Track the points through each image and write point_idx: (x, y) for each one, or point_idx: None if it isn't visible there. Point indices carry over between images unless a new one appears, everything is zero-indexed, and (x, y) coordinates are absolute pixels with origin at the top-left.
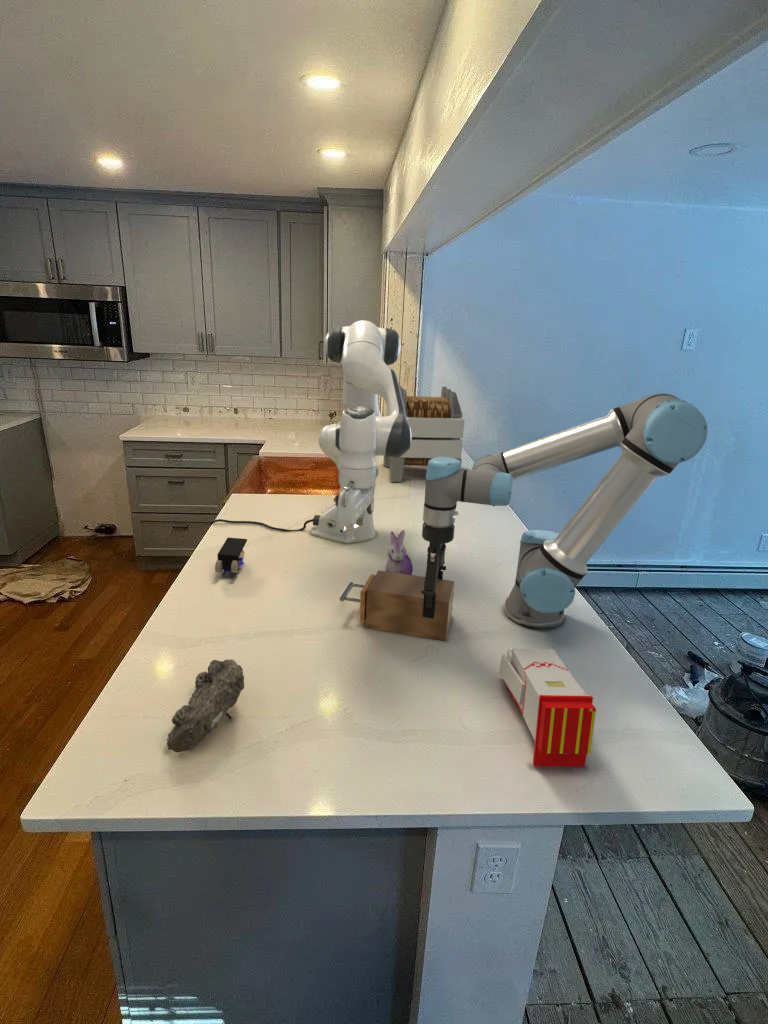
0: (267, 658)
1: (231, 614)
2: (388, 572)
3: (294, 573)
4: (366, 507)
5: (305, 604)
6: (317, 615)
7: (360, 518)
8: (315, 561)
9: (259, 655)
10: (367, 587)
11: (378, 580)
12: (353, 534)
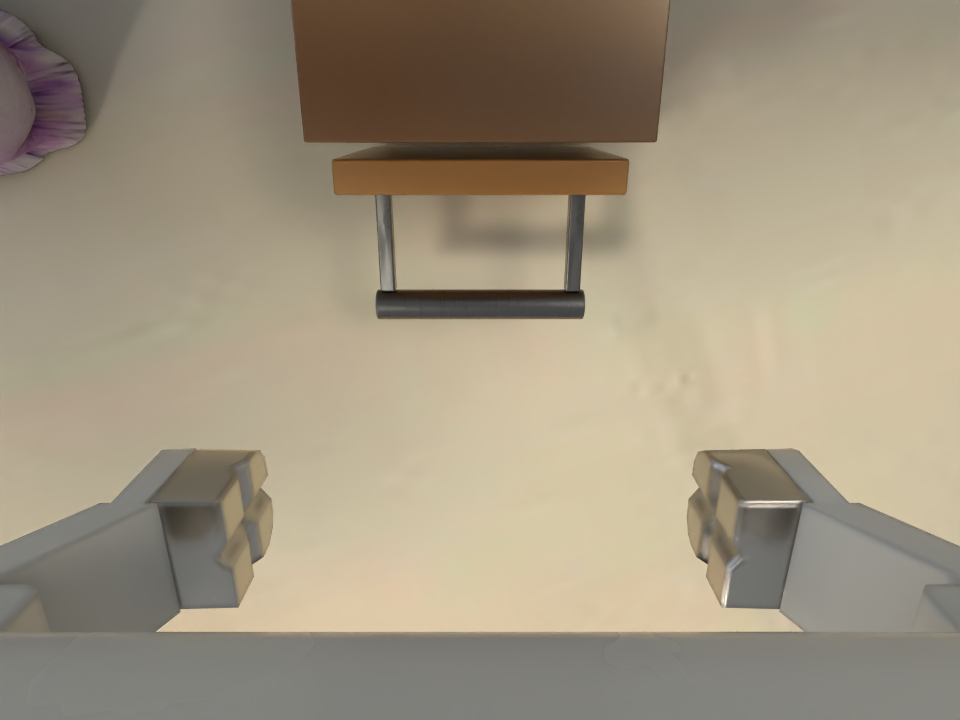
0: (903, 456)
1: None
2: (307, 44)
3: None
4: (87, 666)
5: (465, 466)
6: (543, 388)
7: (186, 553)
8: None
9: (885, 488)
10: (554, 162)
11: (481, 93)
12: (815, 472)
